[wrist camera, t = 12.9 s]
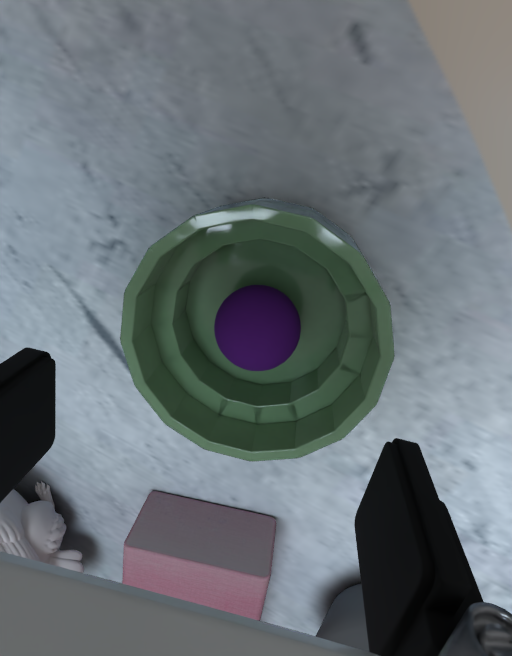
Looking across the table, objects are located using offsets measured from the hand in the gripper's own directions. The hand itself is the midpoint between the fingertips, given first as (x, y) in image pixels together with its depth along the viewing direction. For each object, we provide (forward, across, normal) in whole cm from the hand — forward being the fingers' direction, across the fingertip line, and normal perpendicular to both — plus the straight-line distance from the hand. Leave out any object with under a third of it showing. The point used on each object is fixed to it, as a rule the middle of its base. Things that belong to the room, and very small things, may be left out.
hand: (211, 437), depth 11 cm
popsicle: (+12, 0, +26) cm, 29 cm away
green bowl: (+13, 0, +1) cm, 13 cm away
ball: (+10, 0, +1) cm, 10 cm away
